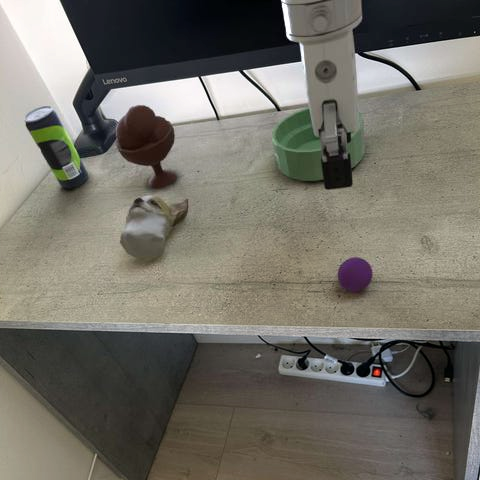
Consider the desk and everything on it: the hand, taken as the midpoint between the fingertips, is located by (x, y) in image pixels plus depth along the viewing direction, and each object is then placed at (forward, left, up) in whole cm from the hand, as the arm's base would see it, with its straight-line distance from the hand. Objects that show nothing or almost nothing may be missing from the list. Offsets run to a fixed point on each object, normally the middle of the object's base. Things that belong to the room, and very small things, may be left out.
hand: (338, 164), depth 60 cm
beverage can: (+23, -58, -14) cm, 64 cm away
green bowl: (-13, -21, -14) cm, 28 cm away
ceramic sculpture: (+20, -25, -14) cm, 35 cm away
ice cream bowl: (+10, -41, -14) cm, 45 cm away
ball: (+4, +7, -11) cm, 14 cm away
